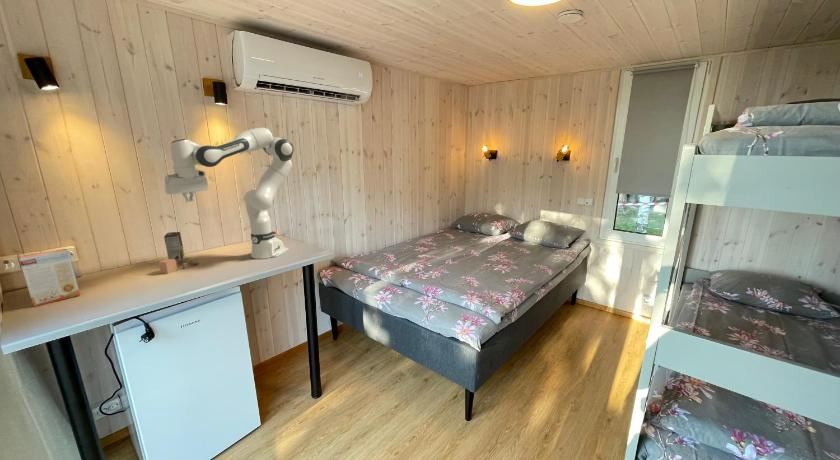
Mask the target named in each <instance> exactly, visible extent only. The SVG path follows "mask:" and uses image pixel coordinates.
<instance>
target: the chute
mask: <svg viewBox="0 0 840 460" xmlns="http://www.w3.org/2000/svg"><path fill="white" fill-rule="evenodd" d="M197 265H199V259H198V258H195V259H192V260H189V257H186V258H185V257H184V259H181V260H178V261H176V266H177V268H178V267H181V266H182V267H183V270H185V269H189V268H191V267H195V266H197Z"/></svg>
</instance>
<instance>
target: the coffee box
mask: <svg viewBox="0 0 840 460" xmlns="http://www.w3.org/2000/svg"><path fill="white" fill-rule="evenodd" d="M181 235H182V234H181V232H180V231H172V232H167V233H166V234H165V235H164V236H163V237H164V243H165V248H166V255H167V259H175V260H176V261H178V260H181V259H185V252H184V244H183V241H182V236H181Z"/></svg>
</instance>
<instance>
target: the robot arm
mask: <svg viewBox="0 0 840 460" xmlns="http://www.w3.org/2000/svg"><path fill="white" fill-rule="evenodd" d="M294 148H295V147H294V144H293V143H292V142H291V141H290V140H288V139H285V138H282V137H274V136H273V134H272V132H271V131H270V129H269V128H266V127H256V128H252V129H247V130H243V131H241V132H240V133H237V134H236V135H235V136H234V139H233V140H232V141H229V142H226V143H224V144H219V145H217V146H215V145H200V144H198V143H195V142H193V141H191V140H190V139H187V138H182V139H181V138H180V139H175V140H172V141H171V142H170V149H169V150H170V157H171V160H172V163H173V166H172V169H173V174H167V175H166V176H165V177H164V186H165V189H164V190H165V193H166V194H167V195H177V194H178V195H180V194H182V196H183V198H185V202H187V203H189V202H194V200H195V199H194V197H195V195H196V192H202V191H208V189H209V184H208V179H207V177H206V172H205V171H204V170H199V169H197V168H196V165H198V166H202V167H207V168H212V167H215V166H217V165H218V164H220V163H221V162H222V161H223V160H224V159H226V158H230V157H231V156H235V155H237V154H240V153H241V154H243V153H250V152H251V153H252V152H254V151H257V150H261V149H263V151H264V152H265V154H268V155H269V156H272V157H273V158H272V162H271V163H270V165H269V166H268V167H267V169H266V170H265V171H264V173H263V174H262V176H261V177H260V179H259V182H258V185H257V186H256V188H255V189H250V190H248V191H247V192H246V193H244V197H243V201H244V203H245V209H246V211H247V216H248V220H249V225H250V240H251V252H250V256H251V258H253V259H257V260H259V259H260V260H262V259H269V258H277V257H279V256H280V255H281V256H282V254H284V253H286V252H287V251H289V248H288V247H286V246H285V245H284V244H285V243H284V241H282V240H281V239H279V238H278V237H276V236H275V235H278V231H277V230H272V221H271V217H270V215H269V211H268V210H269V209H270V208H271V207H272V206H273V201H274V199H275V196H276V195H277V192H278V191H279V189H280V187H281V186H282V184H283V183H284V181H285V180H286V178H287V177H288V175H289V174H290V171H291V169H292V167H293V162H292V160H291V159H292V157H293V154H294Z"/></svg>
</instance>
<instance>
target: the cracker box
mask: <svg viewBox="0 0 840 460" xmlns="http://www.w3.org/2000/svg"><path fill="white" fill-rule="evenodd" d="M18 259H19V263H20V266H21V270H22V273H23V277H24V280H25V283H26V286H27V287H26V288H27V290H28V293H29V297H30V299H31V302H32V305H33V307H38V306H39V307H40V306H42V305H47V304H50V303H55V302H59V301H63V300H67V299H71V298H77V297H80V296H81V293H80V289H79V286H78V282H77V278H76V274H75V272H74V271H75V270H74V268H73V264H72V259H71V256H70V253H69V250H68V249H67V248H62V249H56V250H51V251H43V252H38V253H32V254H26V255H25V254H24V255H21V256H18Z"/></svg>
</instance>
